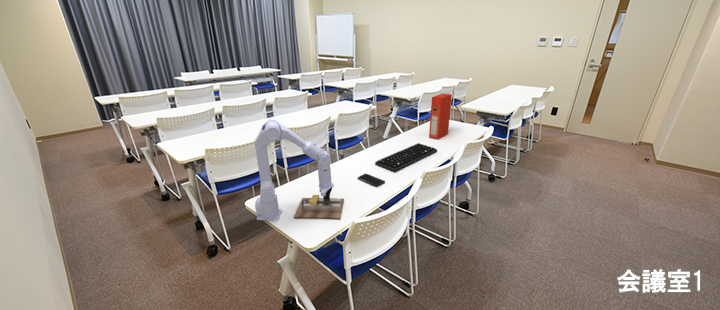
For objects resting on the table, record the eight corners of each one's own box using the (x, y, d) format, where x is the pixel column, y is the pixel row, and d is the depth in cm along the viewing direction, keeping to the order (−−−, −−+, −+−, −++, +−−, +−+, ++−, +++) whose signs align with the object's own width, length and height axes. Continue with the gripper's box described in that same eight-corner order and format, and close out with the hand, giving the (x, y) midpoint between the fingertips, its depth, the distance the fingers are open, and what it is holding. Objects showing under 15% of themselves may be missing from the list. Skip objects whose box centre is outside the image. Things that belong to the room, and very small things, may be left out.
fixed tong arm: (300, 211, 133) (300, 204, 132) (303, 205, 137) (302, 199, 136) (340, 211, 132) (339, 205, 131) (341, 206, 136) (341, 200, 135)
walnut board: (293, 218, 130) (293, 216, 129) (302, 199, 144) (302, 197, 144) (340, 219, 128) (340, 217, 128) (344, 200, 143) (344, 198, 143)
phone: (376, 186, 154) (356, 177, 164) (376, 188, 155) (356, 179, 164) (386, 181, 159) (365, 173, 169) (386, 183, 160) (365, 174, 169)
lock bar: (310, 205, 131) (309, 202, 130) (313, 198, 137) (312, 194, 136) (316, 205, 131) (316, 202, 130) (319, 198, 137) (319, 194, 136)
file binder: (428, 137, 226) (432, 96, 213) (438, 132, 238) (442, 93, 225) (438, 139, 221) (442, 98, 209) (447, 134, 233) (452, 94, 221)
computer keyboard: (394, 173, 171) (394, 167, 169) (375, 165, 181) (375, 160, 180) (436, 152, 199) (437, 147, 197) (417, 147, 210) (418, 142, 208)
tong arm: (309, 207, 136) (308, 201, 135) (310, 204, 138) (309, 199, 137) (341, 206, 136) (341, 200, 135) (341, 203, 138) (341, 198, 137)
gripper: (331, 183, 126) (333, 210, 131) (335, 169, 139) (337, 193, 144) (315, 183, 126) (317, 209, 131) (321, 169, 139) (323, 193, 145)
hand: (326, 201), depth 138 cm, fingers closed, pressing on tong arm
